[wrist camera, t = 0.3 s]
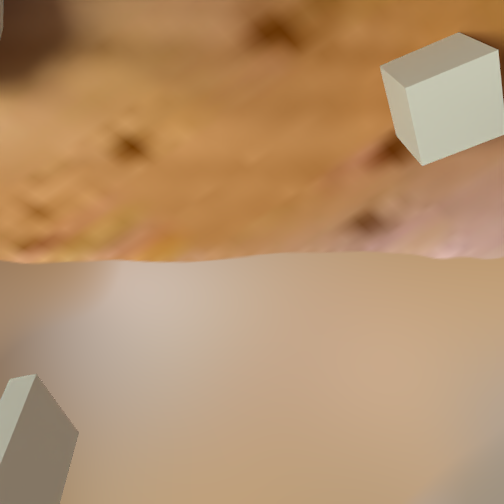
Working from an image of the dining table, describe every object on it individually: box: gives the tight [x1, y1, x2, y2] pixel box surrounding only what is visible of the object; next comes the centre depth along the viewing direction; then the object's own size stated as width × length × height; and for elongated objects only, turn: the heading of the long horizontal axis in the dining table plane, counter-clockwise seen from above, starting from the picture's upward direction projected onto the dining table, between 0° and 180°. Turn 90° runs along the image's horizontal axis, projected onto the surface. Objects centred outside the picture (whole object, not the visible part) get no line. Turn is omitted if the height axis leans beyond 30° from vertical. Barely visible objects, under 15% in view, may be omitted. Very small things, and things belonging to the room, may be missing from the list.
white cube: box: [380, 32, 504, 166], centre depth 34 cm, size 6×6×6 cm
